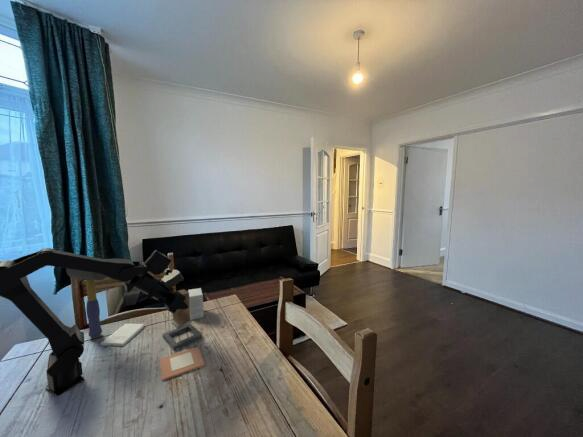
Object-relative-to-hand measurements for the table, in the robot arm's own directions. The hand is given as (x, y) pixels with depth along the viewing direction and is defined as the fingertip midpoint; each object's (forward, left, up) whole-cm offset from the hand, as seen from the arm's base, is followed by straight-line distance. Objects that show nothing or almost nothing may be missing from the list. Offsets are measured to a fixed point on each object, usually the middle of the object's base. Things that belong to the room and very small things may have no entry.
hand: (184, 305), depth 93 cm
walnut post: (-1, 0, -7) cm, 7 cm away
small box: (+14, +9, -13) cm, 21 cm away
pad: (-11, -10, -12) cm, 19 cm away
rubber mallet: (-14, +31, -13) cm, 36 cm away
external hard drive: (-9, +22, -13) cm, 27 cm away
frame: (-1, +1, -12) cm, 13 cm away
